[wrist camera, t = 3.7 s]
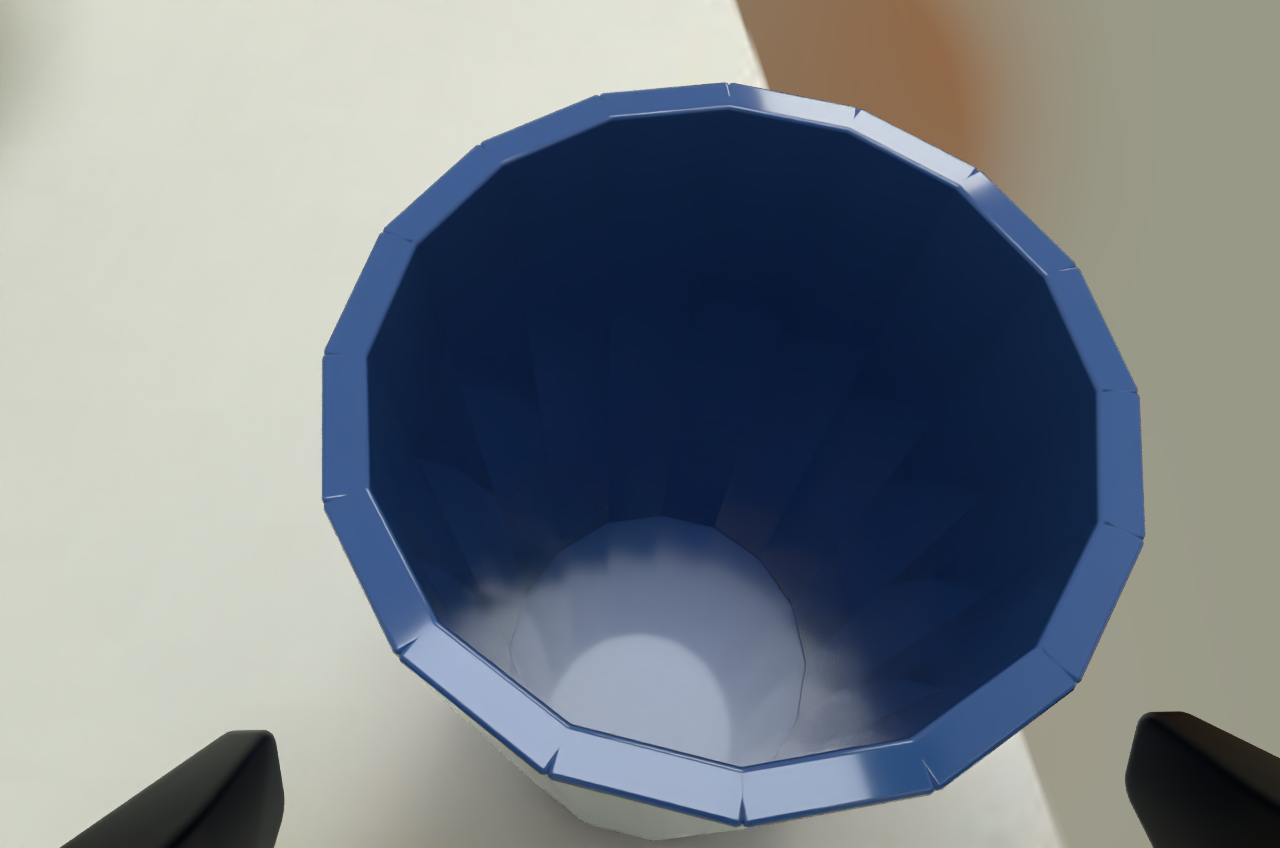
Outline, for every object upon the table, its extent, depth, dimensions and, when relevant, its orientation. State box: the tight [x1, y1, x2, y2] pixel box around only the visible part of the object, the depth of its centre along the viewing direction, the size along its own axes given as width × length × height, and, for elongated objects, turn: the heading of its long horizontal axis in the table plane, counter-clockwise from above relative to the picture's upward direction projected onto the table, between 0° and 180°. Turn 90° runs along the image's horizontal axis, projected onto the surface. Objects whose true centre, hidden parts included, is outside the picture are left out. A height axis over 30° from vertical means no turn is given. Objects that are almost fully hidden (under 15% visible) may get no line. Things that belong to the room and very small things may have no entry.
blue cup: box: [322, 83, 1145, 841], centre depth 13 cm, size 7×7×13 cm
